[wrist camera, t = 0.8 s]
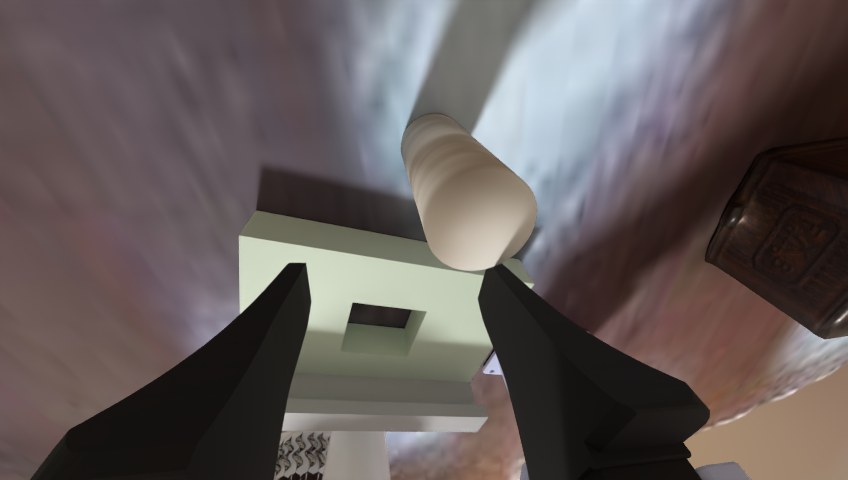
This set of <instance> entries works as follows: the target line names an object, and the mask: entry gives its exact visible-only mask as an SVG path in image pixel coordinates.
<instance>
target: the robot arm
mask: <svg viewBox="0 0 848 480" xmlns="http://www.w3.org/2000/svg"><path fill="white" fill-rule="evenodd" d="M311 302H312V301H311V294H310V287H309V280H308V273H307V266H306V263H288V264H287V265H286V266H285V267H284V268H283V270H282V271H281V272H280V273H279V274H278V275H277V276H276V278H275V279H274V280H273V281H272V282H271V283H270V284H269V285H268V286H267V288H266V289H265V290H264V291H263V292H262V293H261V294H260V295H259V296H258V297H257V298H256V299H255V300H254V301H253V302H252V303H251V304H250V305H249V306H248V307H247V308H246V309H245V310H244V311H243V312H242V313H241V314H240V315H239V316H238V317H237V318H236V319H234V320H233V321H232V322H231V323H230V324H229V325H228V326H227V327H226V328H224V329H223V330H222V331H221V332H220V333H219V334H217V335H216V336H215V337H214V338H212V339H211V340H210V341H209V342H208V343H206V344H205V345H204V346H202V347H201V348H200V349H198V350H197V351H196V352H194V353H193V354H192V355H190V356H189V357H187V358H186V359H185V360H183V361H182V362H180V363H179V364H178V365H176V366H175V367H174V368H172V369H171V370H169V371H168V372H166V373H165V374H163V375H161V376H160V377H158V378H157V379H155V380H154V381H152V382H151V383H149V384H148V385H146V386H144V387H143V388H141V389H140V390H138V391H136V392H135V393H133V394H131V395H130V396H128V397H126V398H125V399H123V400H121V401H120V402H118V403H116V404H114V405H113V406H111V407H109V408H107V409H105V410H104V411H102V412H100V413H98V414H97V415H95V416H93V417H91V418H90V419H88V420H86V421H84V422H83V423H81V424H79V425H77V426H75V427H73V428H71V429H70V430H69V431H68V432H67V433H66V434H65V436H64V437H63V438H62V439H61V440H60V442H59V443H58V444H57V445H56V446H55V448H54V449H53V450H52V451H51V453H50V454H49V455H48V457H47V458H46V459H45V461H44V462H43V463H42V465H41V466H40V467H39V469H38V470H37V471H36V473H35V474H34V475H33V476H32V478H31V479H30V480H274V476H275V469H276V463H277V457H278V450H279V444H280V439H281V433H282V427H283V421H284V416H285V411H286V405H287V400H288V395H289V390H290V386H291V382H292V379H293V375H294V372H295V368H296V365H297V361H298V358H299V355H300V351H301V348H302V344H303V341H304V337H305V334H306V330H307V327H308V321H309V315H310V309H311ZM478 303H479V307H480V311H481V315H482V319H483V322H484V325H485V328H486V330H487V333H488V335H489V338H490V341H491V343H492V346H493V348H494V352H493V354H492V355H491V357H490V358H489V360H488V361H487V363H486V364H485V366H484V367H483V372H484V373H485V374H499V375H502V376H503V379H504V381H505V384H506V387H507V390H508V392H509V395H510V398H511V402H512V406H513V410H514V414H515V418H516V422H517V426H518V430H519V434H520V439H521V443H522V447H523V452H524V456H525V461H526V463H524V464H523V465H522V469H521V476H520V480H751V479H750V478H749V476H748V475H747V474H746V473H745V472H744V470H743V469H742V468H741V467H740V466H739V464H738V463H735V462H728V463H720V464H713V465H706V466H702V467H699V468H696V469H694V468H693V467H692V465H691V464H690V463H689V461H688V460H687V458H690V457H691V453H690V451H689V450H688V449H687V447H686V446H685V445H684V443H683V442H684V441H685V440H687V439H688V438H689V437H690V436H692V435H693V434H694V433H695V432H697V431H698V430H699V429H700V428H701V427H702V426H703V425H705V424H706V423H707V421H708V419H709V417H710V410H709V409H708V408H707V406H706V405H705V404H704V403H703V402H702V401H701V400H700V398H699V397H698V396H697V395H696V394H695V393H694V392H693V390H692V389H691V388H690V387H689V386H688V385H687V384H686V383H685V382H683V381H681V380H679V379H677V378H674V377H672V376H670V375H668V374H665V373H663V372H661V371H659V370H657V369H654V368H652V367H650V366H648V365H646V364H644V363H642V362H640V361H638V360H636V359H634V358H632V357H630V356H628V355H626V354H624V353H622V352H621V351H619V350H617V349H615V348H613V347H611V346H610V345H608V344H606V343H605V342H603V341H601V340H600V339H598V338H596V337H595V336H593V335H591V334H590V332H589V331H585V330H584V329H582V328H581V327H579V326H578V325H576V324H575V323H573V322H572V321H570V320H569V319H568V318H566V317H565V316H563V315H562V314H561V313H559V312H558V311H557V310H556V309H554V308H553V307H552V306H551V305H549V304H548V303H547V302H546V301H544V300H543V299H542V298H541V297H540V296H538V295H537V294H536V293H535V292H534V291H533V290H531V289H530V288H529V287H528V286H527V285H526V284H525V283H524V282H522V281H521V280H520V279H519V278H518V277H517V276H516V275H515V274H514V273H512V272H511V271H510V270H509V269H508V268H507V267H506V266H504V265H503V264H502V263H501V264H499V265H496V266H494V267H491V268H488V269H486V270H485V274H484V277H483V281H482V285H481V288H480V292H479V295H478Z"/></svg>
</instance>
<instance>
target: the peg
mask: <svg viewBox="0 0 848 480" xmlns="http://www.w3.org/2000/svg"><path fill="white" fill-rule="evenodd" d="M401 153H402V158H403V161H404V164H405V168H406V171H407V175H408V178H409V182H410V185H411V188H412V192H413V195H414V199H415V202H416V205H417V209H418V212H419V216H420V219H421V222H422V226H423V229H424V233H425V236H426V239H427V242H428V245H429V247H430V249H431V251H432V253H433V254H434V255H435V256H436V257H437V258H438V259H439V260H440V261H441V262H443V263H444V264H446V265H448V266H450V267H452V268H455V269H459V270H466V271H477V270H483V269H488V268H491V267H494V266H496V265H499V264H501V263H503V262H504V261H506V260H508V259H509V258H511V257H512V256H513V255H515V254H516V253H517V252H518V251H519V250H520V249H521V248H522V247H523V246H524V244H525V243H526V242H527V240H528V239H529V237H530V235H531V233H532V231H533V229H534V226H535V223H536V218H537V204H536V200H535V197H534V194H533V192H532V190H531V189H530V187H529V186H528V185H527V184H526V183H525V182H524V181H523V180H522V179H521V178H520V177H519V176H517V175H516V174H515V173H514V172H513V171H512V170H511V169H509V168H508V167H507V166H506V165H505V164H504V163H502V162H501V161H500V160H499V159H498V158H497V157H495V156H494V155H493V154H492V153H491V152H490V151H488V150H487V149H486V148H485V147H484V146H483V145H481V144H480V143H479V142H478V141H477V140H476V139H475V138H473V137H472V136H471V135H470V134H469V133H468V132H466V131H465V130H464V129H463V128H462V127H461V126H459V125H458V124H457V123H456V122H455V121H454V120H452V119H451V118H449V117H448V116H445V115H442V114H437V113H431V114H426V115H423V116H421V117H419V118H417V119H415V120H414V121H413V122H412V123H411V124H410V125H409V126H408V127H407V129H406V130H405V132H404V134H403V137H402V141H401Z"/></svg>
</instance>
